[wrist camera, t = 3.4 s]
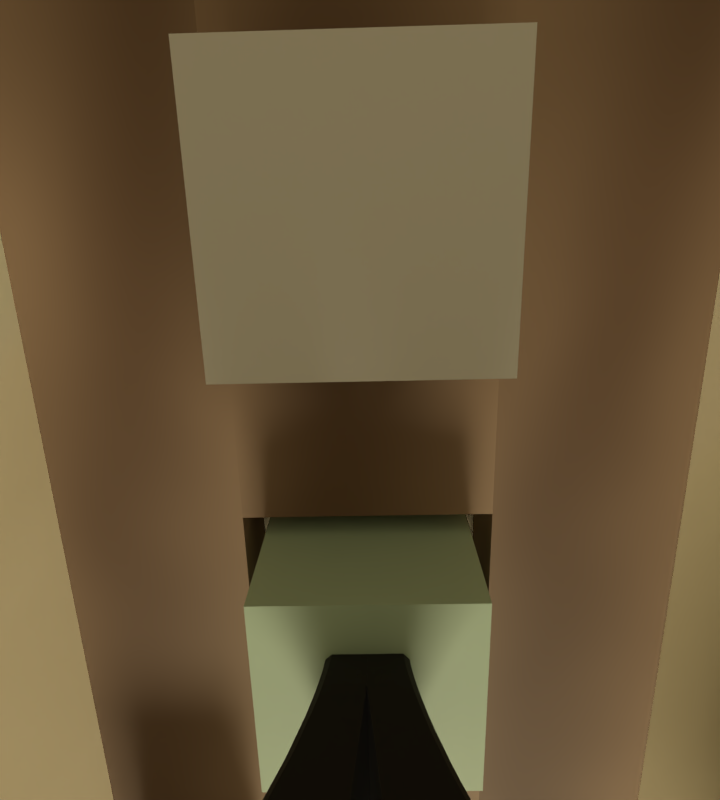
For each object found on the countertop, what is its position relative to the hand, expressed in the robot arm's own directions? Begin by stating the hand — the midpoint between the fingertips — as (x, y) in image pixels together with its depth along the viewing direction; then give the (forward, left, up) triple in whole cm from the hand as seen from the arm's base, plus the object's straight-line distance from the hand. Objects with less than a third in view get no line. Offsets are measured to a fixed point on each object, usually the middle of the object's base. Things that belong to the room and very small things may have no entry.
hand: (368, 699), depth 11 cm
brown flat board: (0, 0, -4) cm, 4 cm away
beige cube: (0, -8, -3) cm, 8 cm away
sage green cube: (0, 0, -3) cm, 3 cm away
